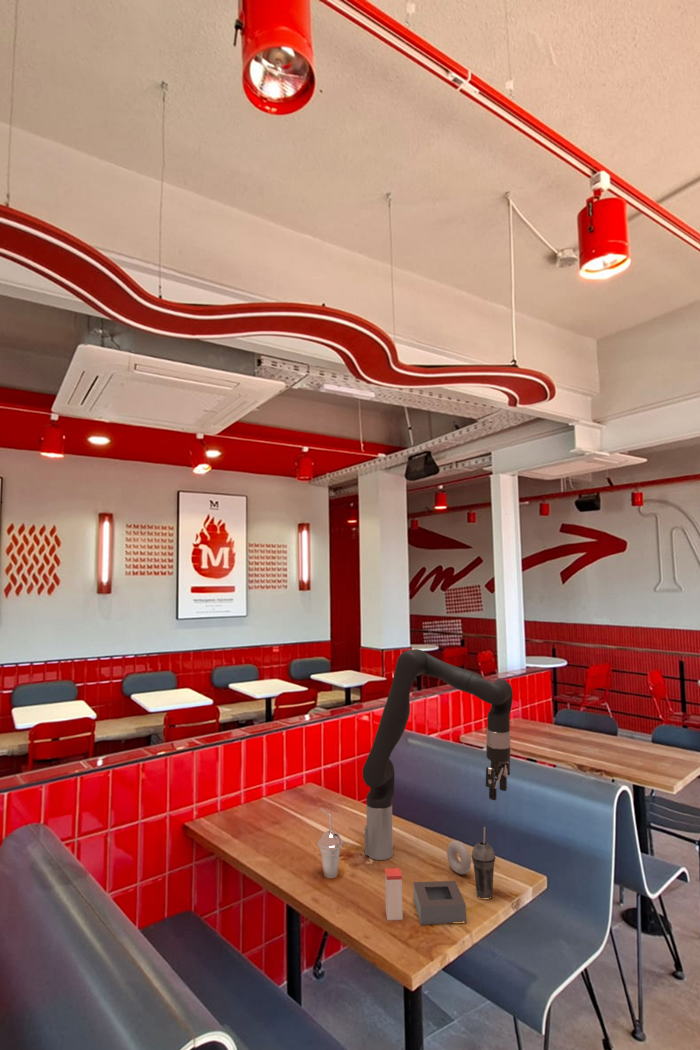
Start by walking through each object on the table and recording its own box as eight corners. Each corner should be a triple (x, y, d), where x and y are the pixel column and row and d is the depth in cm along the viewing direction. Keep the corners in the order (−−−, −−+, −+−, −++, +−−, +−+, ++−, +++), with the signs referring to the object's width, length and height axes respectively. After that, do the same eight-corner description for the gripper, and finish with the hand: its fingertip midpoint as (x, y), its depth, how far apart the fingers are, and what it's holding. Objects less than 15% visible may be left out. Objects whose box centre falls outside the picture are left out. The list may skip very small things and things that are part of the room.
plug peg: (387, 920, 164) (386, 876, 165) (385, 911, 169) (385, 868, 170) (402, 919, 164) (401, 875, 166) (400, 910, 169) (399, 868, 170)
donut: (473, 877, 187) (473, 845, 188) (466, 881, 185) (465, 848, 186) (452, 865, 195) (451, 834, 196) (444, 868, 193) (444, 837, 194)
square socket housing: (420, 924, 162) (420, 906, 162) (413, 899, 175) (413, 882, 175) (466, 923, 162) (465, 904, 163) (455, 897, 175) (455, 880, 176)
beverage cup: (467, 895, 176) (466, 828, 178) (480, 886, 182) (479, 821, 183) (488, 905, 171) (486, 835, 173) (501, 895, 176) (499, 828, 178)
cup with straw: (320, 883, 184) (320, 818, 186) (315, 869, 193) (314, 808, 195) (346, 879, 187) (345, 815, 189) (339, 866, 195) (339, 805, 197)
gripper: (495, 735, 192) (495, 784, 191) (478, 747, 180) (477, 799, 180) (517, 740, 187) (517, 790, 187) (500, 752, 176) (500, 806, 175)
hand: (498, 794), depth 183 cm, fingers open, 8 cm apart
